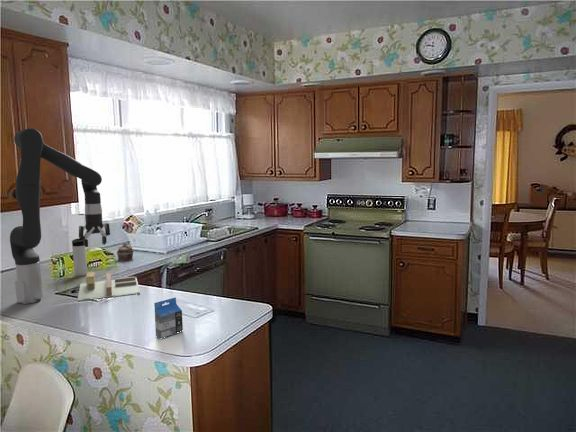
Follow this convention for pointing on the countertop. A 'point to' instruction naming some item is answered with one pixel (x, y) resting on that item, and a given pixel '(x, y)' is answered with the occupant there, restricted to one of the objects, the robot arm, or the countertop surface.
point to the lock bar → (90, 279)
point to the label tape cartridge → (167, 318)
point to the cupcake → (125, 252)
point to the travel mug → (79, 258)
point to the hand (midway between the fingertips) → (95, 245)
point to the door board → (103, 290)
